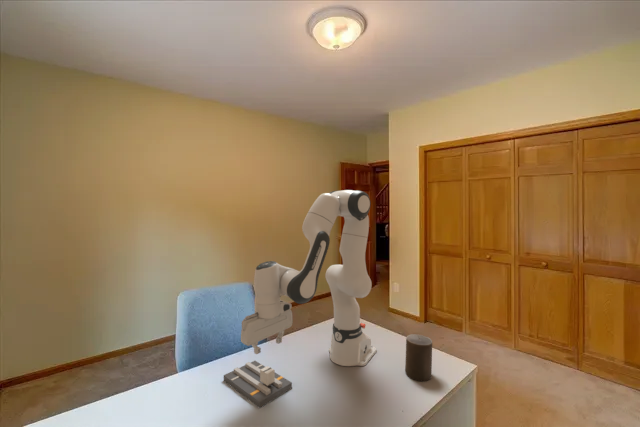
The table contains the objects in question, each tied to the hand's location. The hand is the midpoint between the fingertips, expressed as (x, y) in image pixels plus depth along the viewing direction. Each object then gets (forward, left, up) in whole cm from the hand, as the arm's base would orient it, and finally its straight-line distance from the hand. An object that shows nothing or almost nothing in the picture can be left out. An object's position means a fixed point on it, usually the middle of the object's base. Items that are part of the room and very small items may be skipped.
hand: (268, 347), depth 103 cm
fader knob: (0, 0, -13) cm, 13 cm away
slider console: (0, -6, -15) cm, 17 cm away
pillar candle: (-46, +35, -16) cm, 59 cm away
